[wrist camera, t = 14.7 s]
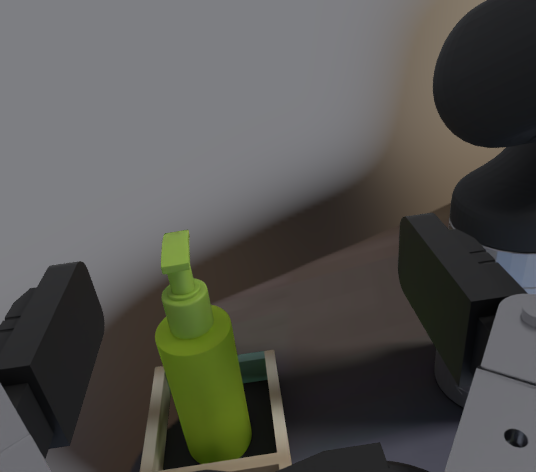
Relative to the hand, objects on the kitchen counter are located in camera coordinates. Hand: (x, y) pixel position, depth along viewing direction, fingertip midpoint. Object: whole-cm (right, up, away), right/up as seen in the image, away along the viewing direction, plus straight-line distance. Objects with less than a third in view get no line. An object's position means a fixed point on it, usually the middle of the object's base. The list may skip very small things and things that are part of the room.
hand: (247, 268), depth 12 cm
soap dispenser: (-4, -17, +31) cm, 36 cm away
